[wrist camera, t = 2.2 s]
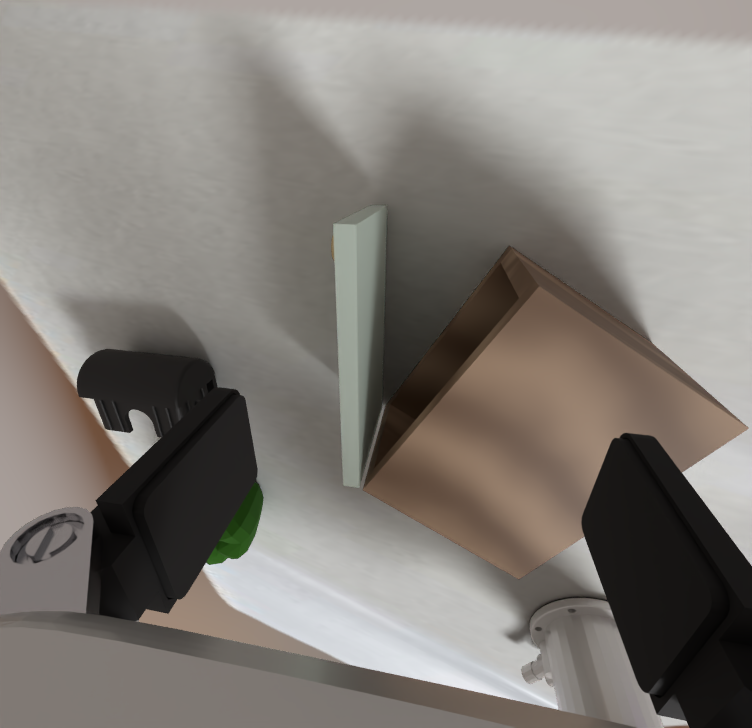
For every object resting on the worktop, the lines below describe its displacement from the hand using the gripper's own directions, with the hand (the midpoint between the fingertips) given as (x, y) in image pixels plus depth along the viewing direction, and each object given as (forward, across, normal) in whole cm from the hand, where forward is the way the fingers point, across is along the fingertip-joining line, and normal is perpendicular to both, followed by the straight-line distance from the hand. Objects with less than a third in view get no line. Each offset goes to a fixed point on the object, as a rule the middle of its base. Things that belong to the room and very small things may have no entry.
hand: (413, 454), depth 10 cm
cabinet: (+23, -7, +10) cm, 26 cm away
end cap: (+23, +26, +13) cm, 37 cm away
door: (+22, +5, +5) cm, 24 cm away
